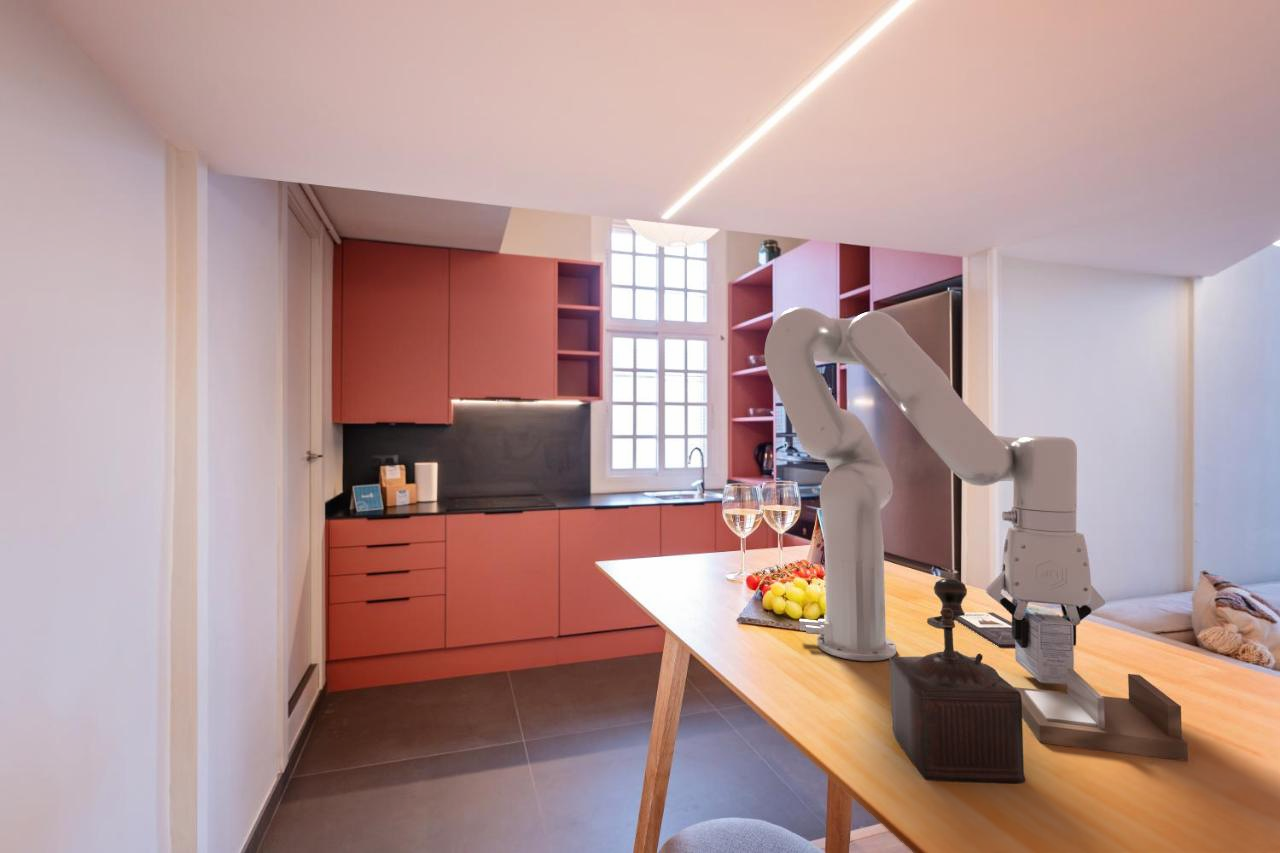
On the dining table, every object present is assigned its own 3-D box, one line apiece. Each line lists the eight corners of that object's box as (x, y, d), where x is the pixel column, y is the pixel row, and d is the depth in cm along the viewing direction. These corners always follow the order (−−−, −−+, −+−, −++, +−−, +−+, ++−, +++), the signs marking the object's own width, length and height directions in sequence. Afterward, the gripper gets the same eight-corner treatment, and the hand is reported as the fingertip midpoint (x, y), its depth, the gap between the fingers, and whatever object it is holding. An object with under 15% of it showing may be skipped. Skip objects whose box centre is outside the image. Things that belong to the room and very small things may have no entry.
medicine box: (1074, 686, 80) (1075, 623, 80) (1038, 683, 81) (1039, 621, 81) (1046, 664, 87) (1047, 606, 88) (1014, 661, 88) (1014, 604, 88)
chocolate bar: (998, 644, 99) (947, 612, 117) (999, 649, 99) (947, 617, 117) (1053, 644, 98) (992, 612, 116) (1053, 649, 98) (993, 617, 116)
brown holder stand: (1039, 742, 68) (1038, 694, 68) (1011, 701, 78) (1010, 660, 79) (1188, 761, 64) (1186, 710, 64) (1136, 715, 74) (1135, 671, 74)
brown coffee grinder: (1035, 785, 60) (1030, 609, 60) (923, 781, 61) (919, 608, 61) (963, 714, 75) (960, 574, 76) (875, 711, 76) (872, 574, 77)
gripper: (984, 521, 83) (983, 649, 83) (1127, 529, 78) (1126, 665, 78) (971, 514, 90) (970, 632, 90) (1102, 521, 85) (1101, 645, 85)
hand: (1043, 645), depth 84 cm, fingers closed on medicine box, 4 cm apart
